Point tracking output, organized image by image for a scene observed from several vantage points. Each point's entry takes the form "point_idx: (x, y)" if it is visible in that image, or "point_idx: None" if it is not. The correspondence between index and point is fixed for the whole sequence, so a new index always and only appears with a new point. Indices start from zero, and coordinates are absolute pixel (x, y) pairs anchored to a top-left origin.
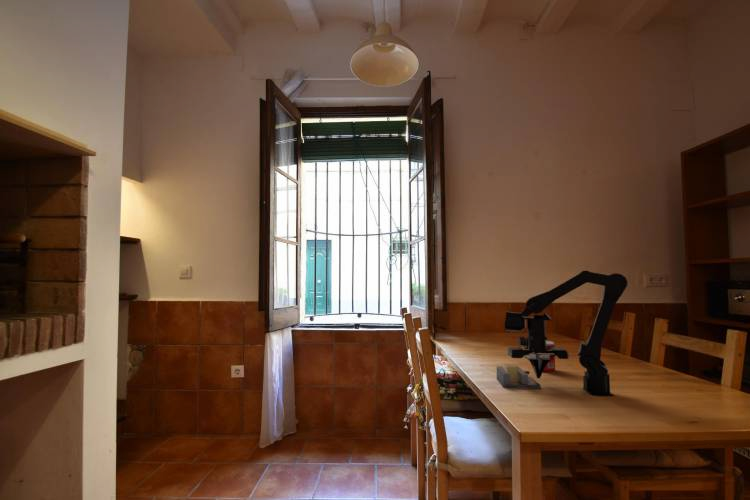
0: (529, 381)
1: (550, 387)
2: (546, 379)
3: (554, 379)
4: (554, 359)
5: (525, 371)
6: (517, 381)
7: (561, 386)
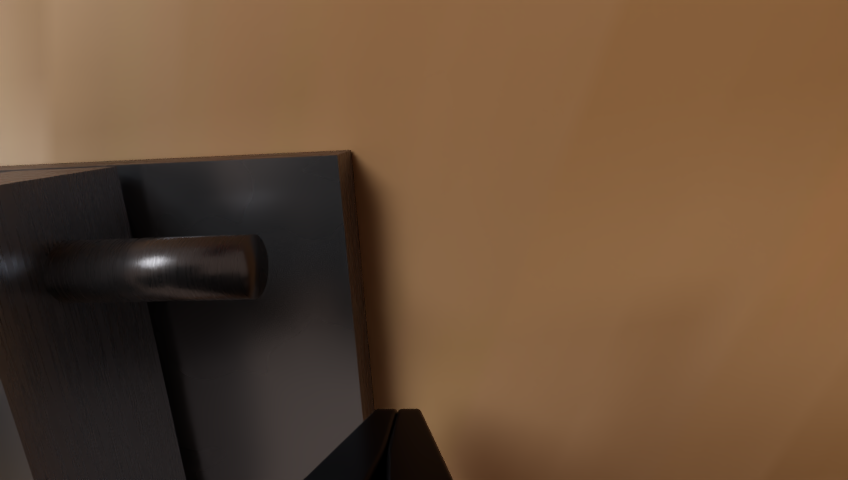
0: (258, 443)
1: (534, 470)
2: (652, 54)
3: (815, 27)
4: None
5: (158, 295)
6: None
7: (715, 416)
